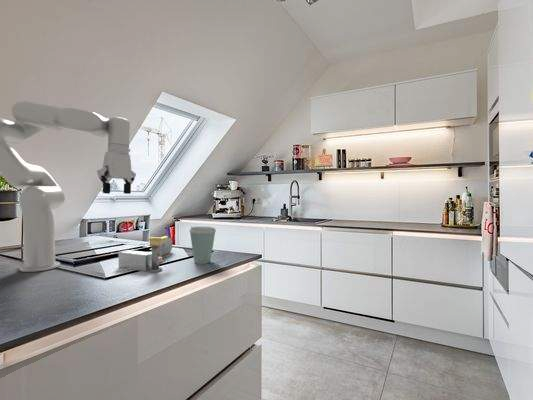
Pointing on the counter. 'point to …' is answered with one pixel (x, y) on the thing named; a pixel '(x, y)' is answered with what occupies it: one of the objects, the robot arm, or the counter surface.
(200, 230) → the disposable coffee cup
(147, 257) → the housing
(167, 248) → the tin
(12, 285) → the counter surface
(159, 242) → the key
